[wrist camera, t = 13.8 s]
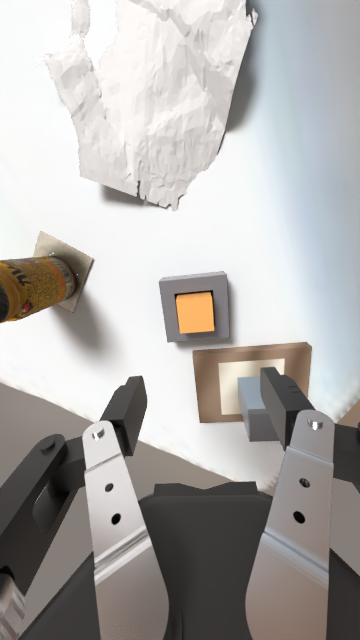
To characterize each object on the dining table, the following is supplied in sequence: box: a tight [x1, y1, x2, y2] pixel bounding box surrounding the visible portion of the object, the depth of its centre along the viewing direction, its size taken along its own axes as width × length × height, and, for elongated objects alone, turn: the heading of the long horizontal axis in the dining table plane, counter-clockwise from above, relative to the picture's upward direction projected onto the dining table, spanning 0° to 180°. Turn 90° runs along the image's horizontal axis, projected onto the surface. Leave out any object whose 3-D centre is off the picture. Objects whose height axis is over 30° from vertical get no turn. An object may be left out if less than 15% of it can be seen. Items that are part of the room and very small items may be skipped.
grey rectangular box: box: [237, 376, 280, 442], centre depth 28 cm, size 4×4×7 cm
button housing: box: [159, 271, 229, 342], centre depth 28 cm, size 8×8×3 cm
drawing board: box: [193, 342, 312, 423], centre depth 33 cm, size 16×12×2 cm
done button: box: [176, 291, 214, 334], centre depth 27 cm, size 4×4×3 cm
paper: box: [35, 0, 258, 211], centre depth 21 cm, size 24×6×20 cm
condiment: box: [0, 231, 93, 323], centre depth 24 cm, size 7×8×12 cm
